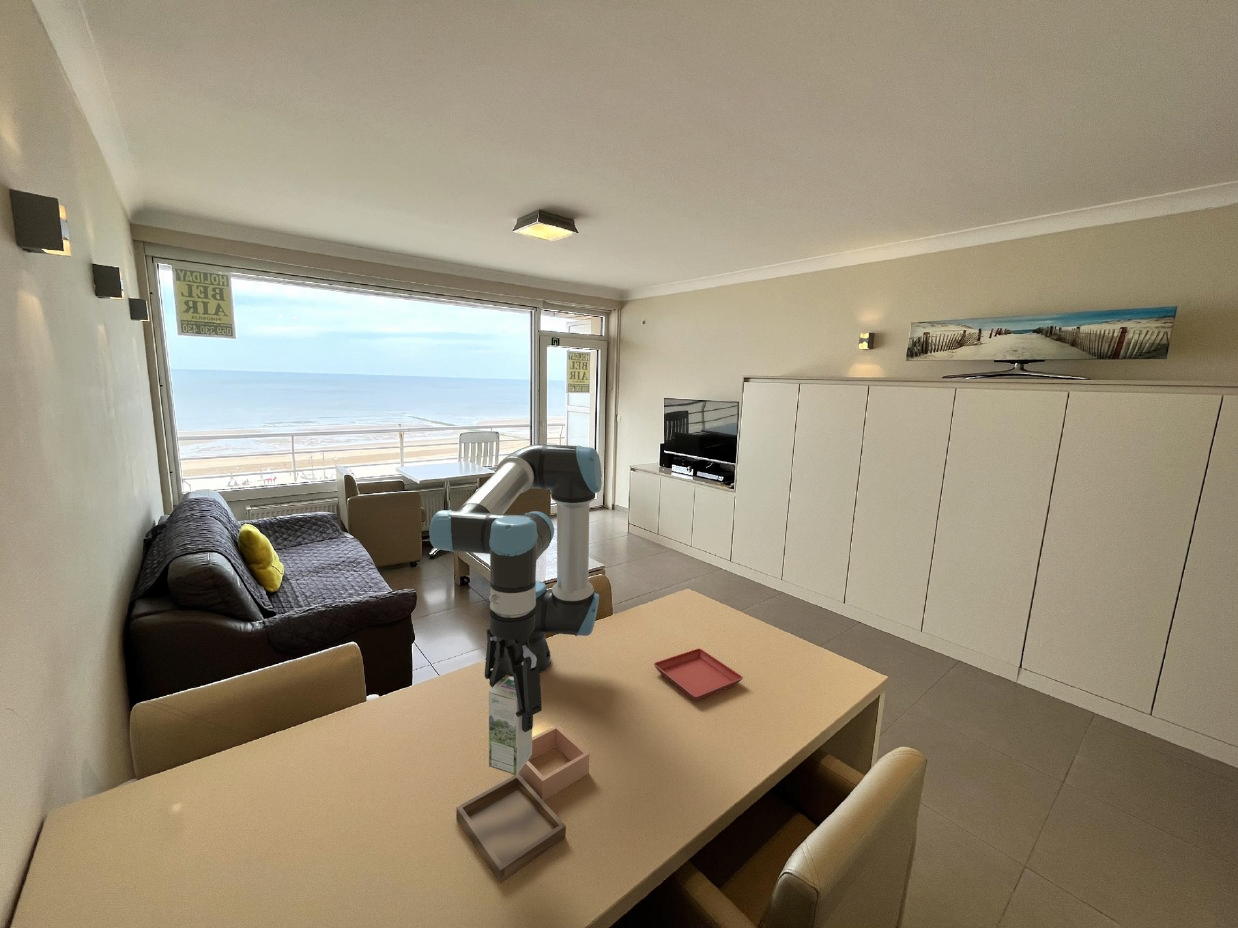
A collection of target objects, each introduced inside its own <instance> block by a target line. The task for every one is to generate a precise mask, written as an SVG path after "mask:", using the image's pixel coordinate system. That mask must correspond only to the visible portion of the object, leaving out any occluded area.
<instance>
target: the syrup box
mask: <svg viewBox="0 0 1238 928" xmlns="http://www.w3.org/2000/svg"><path fill="white" fill-rule="evenodd" d="M517 711H519V706H518V700H517V695H516V689H515V684H514V678H513V676H510V675H505V676H504V677H503V678H502V679H501V680H499V681H498V682H497V683H496V684H495V685H494V686H493V688H492V687H491V688H490V689H489V691H488V767H490V768H493V769H496V770H500V771H502V772H505V773H509V774H510V775H511V774H512V775H513V776H514V775H517V774H518V773H519V772H520V770H521V769H522V768H523V766H524V765H525V764H526V762H527V761H528V759H529V758H530V757H531V755H532V743H530V744H528V745H526V746H524V747H522V748H520V749H517V748H516V712H517Z"/></svg>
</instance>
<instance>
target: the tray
mask: <svg viewBox="0 0 1238 928" xmlns="http://www.w3.org/2000/svg"><path fill="white" fill-rule="evenodd" d="M455 811H456V812H455V813H456V815H455V816H456V820H457V822H458V823H459V825H460V827H461V828H462V829H463V831H464V833H465V834H466V835H467V837H468V838H469V839H470V841H471V843H472V845H474V847H475V848H476V850H477V851H478V853H479V854H480V855H481V857H482V859H483V860H484V861H485V864H486V865H487V866H488V867H489V869H490V870H491V872H492V873H493V875H494V877H495V878H496V879H497V880H498V882H499V884H501V883H503V882H505V880H507V879H508V878H511V876H513V875H514V874H515V873H518V872H519V871H520V870H521V869H523V868H525V867H526V866H527V865H529V864H530V863H531V862H533V861H535V859H537V858H539V857H540V856H541V855H543V854H544V853H546V852H547V851H549V850H550V849H551V848H553V847H554V846H556V845H557V844H559V843H560V842H561V841H563V840H565V839H566V836H567V835H566V832H567V830H566V829H567V826H566V824H565V822H563V821H562V820H561V819H560V817H559V816H558V815H557V814H556V813H555V812H554V811H553V810H552V809H551V807H549V805H548V804H547V803H546V802H545V801H543V800H542V799H541V798H540V797H539V796H538V795H537V793H536V792H535V791H534V790H533V789H532V788H531V787H530V786H529V785H528V784H527V782H526V781H525V780H524V779H523V778H522V777H521V776H520V775H519V774H517V775H514V774H513V775H512V776H511V777H509V778H507V779H506V780H504V781H501V782H500V783H498V784H496V785H494V786H492V787H491V788H489V789H486V790H485V791H484V792H482V793H480V794H478V795H476V796H474V797H472V798H471V799H469V800H466V801H465V802H463V803H461V804H460V805H458V806H457V807H456V810H455Z"/></svg>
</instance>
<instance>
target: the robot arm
mask: <svg viewBox="0 0 1238 928" xmlns="http://www.w3.org/2000/svg"><path fill="white" fill-rule="evenodd" d="M495 469H496V470H495V473H494V474H492V475H491V477H490V478H488V480H487V481H485V483H483V485H481V486H480V487H479V488H478V489H477V490H476V491H475V492H474V493H473V494H472V495H471V496H470V497H469V498H468V499H467V500H466V501H465V502H464V503H463V504H462V505H461V506H460V507H459V508H458V509H457V510H453V509H449V510H438V511H437V512H435V514H434V515H433V516H432V519H431V520H430V524H429V528H428V529H429V530H428V532H429V533H428V534H429V542H430V544H431V545H432V547H433V548H434V549H436V550H441V551H447V552H448V551H449V552H451V553H455V552H456V553H473V554H485V555H489V563H490V564H489V565H490V566H489V568H490V570H489V575H490V577H489V578H490V579H489V586H490V588H489V589H490V591H489V592H490V593H489V594H490V595H489V596H488V601H489V608H490V612H489V628H487V629H486V638H487V641H486V642H487V643H486V656H485V662H484V663H485V665H484V666H485V667H484V678H485V679H486V680H488V679H489V686H490V687H491V689H492V688H493V686H494V685H495V684H496V683H497V682H498V681H499V680H501V679H502V678H503V677H504V676H505V675H506V676H510V677H513V678H514V684H515V689H516V695H517V700H518V706H519V711H517V712H516V748H517V749H520V748H522V747H524V746H526V745H528V744H530V743H532V737H533V728H534V725H533V724H534V715H535V714H537V713H540V712H542V710H543V707H542V706H543V705H542V691H541V690H542V689H541V688H542V687H541V673H543V672H544V671H545V670H547V669H548V668H549V666H550V665H551V651H550V650H551V649H549V647H550V646H549V644H548V642H547V638H546V633H549V634H559V635H570V636H575V637H578V636H581V637H582V636H584V637H587V636H589V635H591V634H592V632H593V630H594V627H595V623H596V619H597V613H598V609H599V603H600V602H599V601H600V594H599V593H596V592H594V591H595V590H594V586H593V584H592V583H591V582H590V581H589V569H590V568H589V566H590V565H589V562H590V561H589V560H590V559H589V556H590V555H589V553H590V549H589V548H590V546H589V545H590V503H592V502H593V501H594V499H596V494H597V493H599V492H600V491H601V490H602V485H603V483H602V482H603V481H602V477H603V475H602V464H601V458H600V455H599V452H598V451H597V450H596V449H595V448H594V447H592V446H591V447H589V446H582V445H569V444H568V445H567V444H566V445H565V444H546V443H545V444H544V443H542V444H541V443H539V444H532V445H528V446H525V447H522V448H520V449H517V450H515V451H513V452H512V453H510V454H508V455H507V456H506V457H504V458H503V459H501V461H500V462H498V464H497V466H496V468H495ZM531 489H537V490H538V489H541V490H550V498H551V500H553V502H555V503H556V567H557V568H556V571H557V572H556V573H557V574H556V576H557V577H556V578H557V579H556V581H557V582H556V583H554V584H553V586H552V587H551V589H548V588H547V585H546V584H545V583H544V582H542V581H539V580H536V579H537V577H536V576H537V561H538V560H539V558H540V557H541V555H542V554H543V553H544V552H545V551H546V550H547V549H548V548H549V547H550V545H551V543H552V540H553V537H554V536H555V527H554V523H553V521H552V520H551V518H550V517H549V516H548V515H547V514H546V513H543V512H542V511H538V510H537V511H535V510H534V511H530V512H529V511H528V512H525V513H524V514H522V515H519V514H505V513H506V512H507V511H508V509H510V507H511V505H512V504H513V503H514V502H515V501H516V499H517V498H518V497H519V496H520V494H522V493H523V494H524V493H525V492H527V491H529V490H531Z"/></svg>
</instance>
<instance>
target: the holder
mask: <svg viewBox="0 0 1238 928" xmlns="http://www.w3.org/2000/svg"><path fill="white" fill-rule="evenodd" d="M554 748H556V749H557V750H558V751H559V752H560V753H562V755H564V756H565V757H566V758H567V759H568V760H570V761H568V762H566V763H564V764H563V765H561V766H560V767H558V768H555V770H552V771H551V772H549V773H548V774H545V775H543V774H542V773H541V772H540V771H539V770H538V769H537V768H536V767H535V766H534V765H533V763H531V762H530V761H532V760H534V759H536V758H537V757H539V756H540V755H543V754H545V753H547V752H549V751H550V750H552V749H554ZM590 755H591V754H590V753H589V752H588V750H586V749H585V748H584V747H583V746H582V745H580V744H579V742H577V741H576V740H575V739H574V738H572V737H571V736H570V735H569V734H568V733H567V732H565V730H563V729H562V728H561V727H560V726H559V725H558V724H556V725H554V726H552V727H550V728H548V729H546V730H545V731H542V732H541V733H538V734H536V735H534V736H532V755H531V757H530V758H529V759H528V761H527V762H526V764H525V765H524V766H523V768H522V769H521V770H520V772H519V773H518V774H519V775H520V776H521V777H522V778H523V779H524V780H525V781H526V782H527V784H528V785H529V786H530V787H531V788H532V789H533V790H534V791H535V792H536V793H537V795H538V796H539V797H540V798H541V799H542V800H543V801H544V802H545V801H546V800H548V799H550V798H551V797H553V796H555V794H557V793H559V792H561V791H563V790H564V789H566V788H567V787H569V786H571V785H572V784H574V783H575V782H578V780H581V779H582V778H584V777H585V776H587V775H588V774H590Z"/></svg>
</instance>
